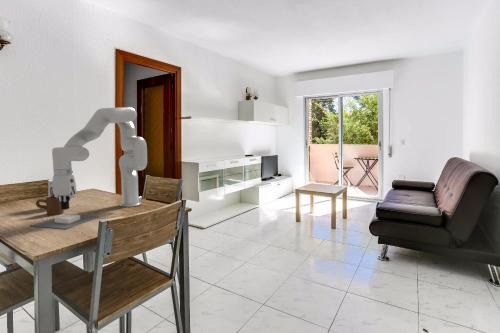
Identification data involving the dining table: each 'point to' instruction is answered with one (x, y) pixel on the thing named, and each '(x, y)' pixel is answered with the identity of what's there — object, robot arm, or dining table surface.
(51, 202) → the mug
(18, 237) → the dining table surface
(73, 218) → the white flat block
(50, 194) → the supplement box
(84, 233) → the dining table surface
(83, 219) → the mat
